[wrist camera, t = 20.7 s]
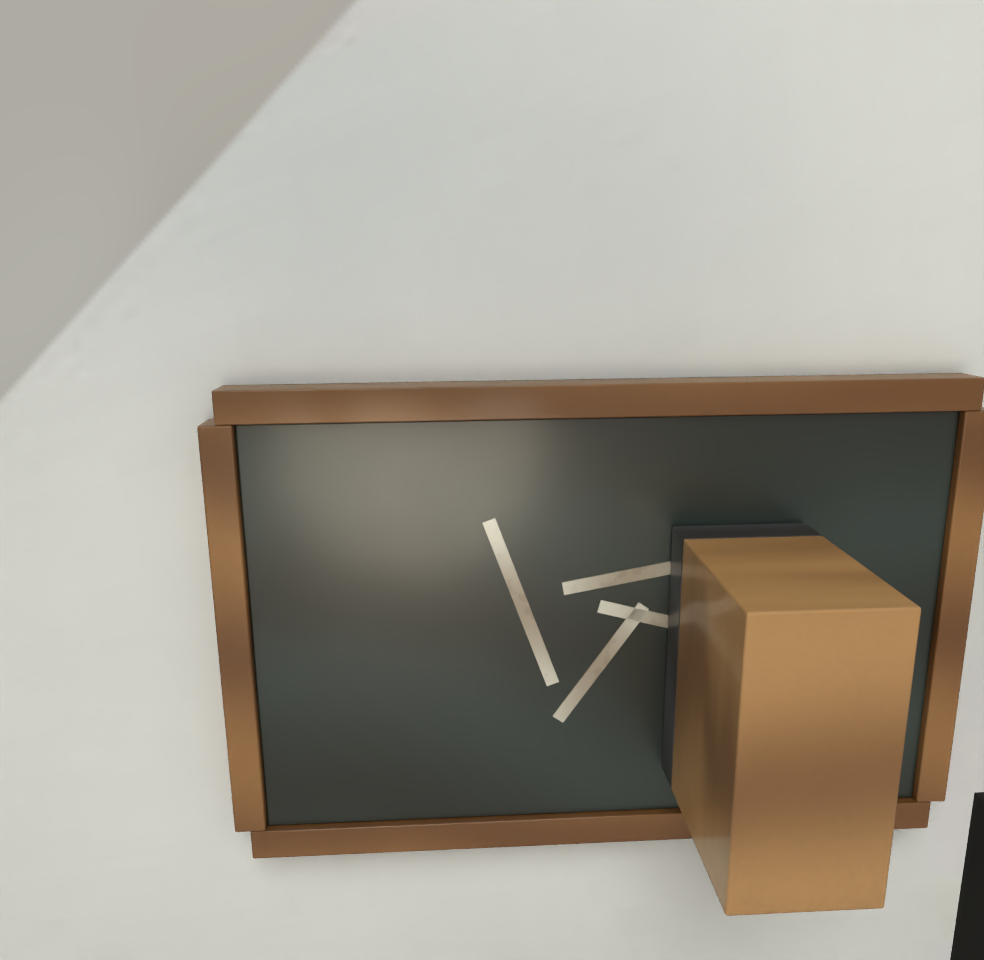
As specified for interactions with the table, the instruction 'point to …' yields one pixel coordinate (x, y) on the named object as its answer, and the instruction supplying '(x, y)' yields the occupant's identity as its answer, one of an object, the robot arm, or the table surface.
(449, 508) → the slate board
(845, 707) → the eraser
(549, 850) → the table surface
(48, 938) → the table surface
